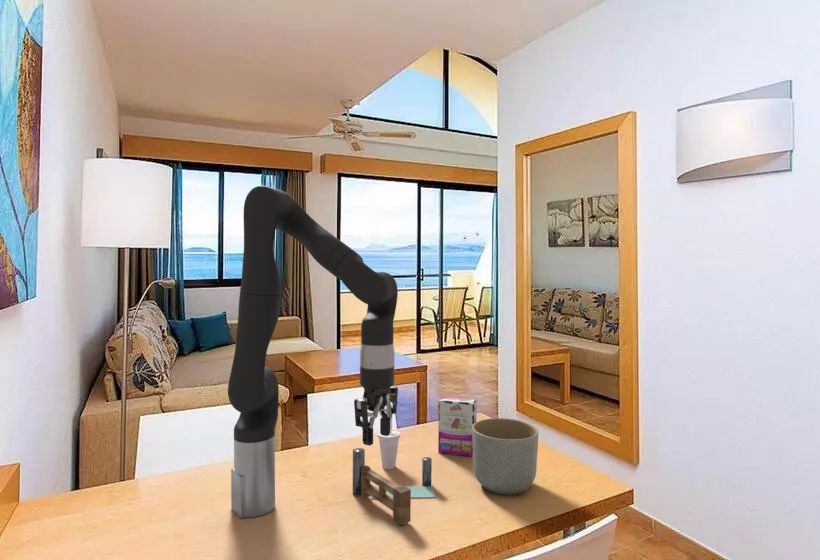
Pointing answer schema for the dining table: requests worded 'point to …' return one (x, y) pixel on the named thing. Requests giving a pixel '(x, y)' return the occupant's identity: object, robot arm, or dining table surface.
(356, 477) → the gatepost
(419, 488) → the open mat
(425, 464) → the post
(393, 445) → the smoothie
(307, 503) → the dining table surface
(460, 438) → the candy bar box
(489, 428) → the planter
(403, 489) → the gate
